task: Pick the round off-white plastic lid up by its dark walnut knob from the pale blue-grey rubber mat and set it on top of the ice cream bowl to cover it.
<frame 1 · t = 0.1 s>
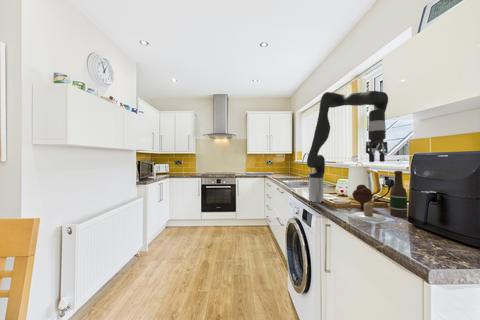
hand: (376, 161, 113), 29 cm above the worktop, fingers open, 8 cm apart
lid: (368, 217, 112), point 1 cm above the worktop, touching mat
beer bottle: (398, 217, 115), on the worktop
mat: (368, 218, 112), on the worktop
ice cream bowl: (362, 210, 130), on the worktop
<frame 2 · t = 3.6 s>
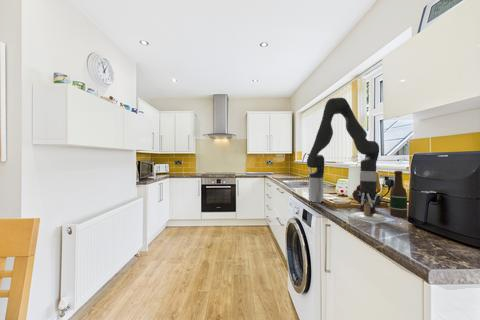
hand: (368, 213, 112), 3 cm above the worktop, fingers closed on lid, 4 cm apart
lid: (368, 217, 112), point 1 cm above the worktop, touching gripper, mat
everything else where it was.
when the fingers open (18 cm above the worktop, at t = 10.1 s): lid drops 1 cm, resting on ice cream bowl.
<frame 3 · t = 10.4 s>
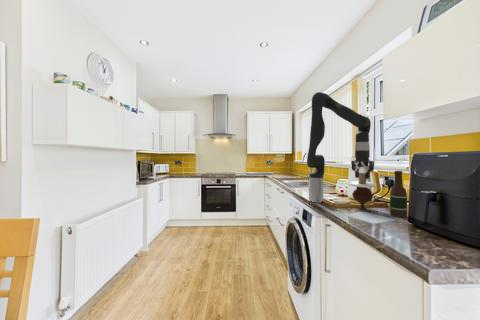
hand: (362, 178, 130), 19 cm above the worktop, fingers open, 6 cm apart
lid: (362, 184, 130), point 15 cm above the worktop, tilted 7°, touching ice cream bowl
ice cream bowl: (362, 210, 130), on the worktop, touching lid
everything else where it was.
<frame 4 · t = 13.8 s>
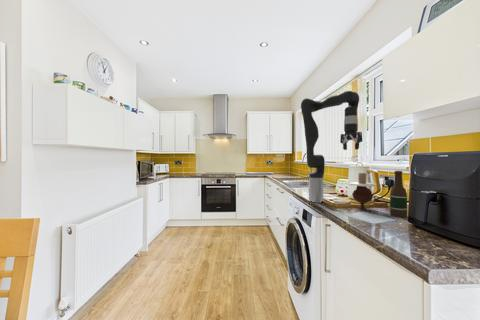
hand: (350, 149, 137), 36 cm above the worktop, fingers open, 8 cm apart
lid: (362, 184, 130), point 15 cm above the worktop, touching ice cream bowl
everything else where it was.
at the end: lid 0.1 cm off-centre on the ice cream bowl, point 15.2 cm above the ice cream bowl's base; the gripper is holding nothing; ice cream bowl tilted 0° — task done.
